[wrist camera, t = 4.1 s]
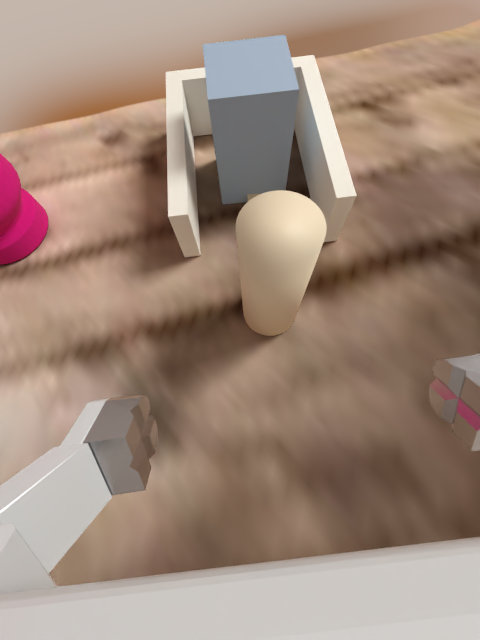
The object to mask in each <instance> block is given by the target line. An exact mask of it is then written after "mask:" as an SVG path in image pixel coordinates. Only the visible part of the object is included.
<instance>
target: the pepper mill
mask: <svg viewBox="0 0 480 640" xmlns="http://www.w3.org/2000/svg"><path fill="white" fill-rule="evenodd" d="M47 229H48V216H47V213H46V211H45V210H44V208H43V207H42V206H41V205H40V204H39V203H38V202H37V201H36V200H35V199H34V198H33V197H32V196H31V195H30V194H29V193H28V192H27V191H25V190H24V189H22V188H21V183H20V179H19V177H18V174H17V172H16V170H15V169H14V167H13V166H12V164H11V163H10V162H9V161H8V160H7V159H6V158H4V157H3V156H2V155H1V154H0V265H3V264H9V263H13V262H15V261H18V260H20V259H23V258H24V257H26V256H27V255H29V254H30V253H32V252H33V251H34V250H35V249H36V248H37V247H38V246H39V245H40V244H41V242H42V240H43V239H44V237H45V236H46V233H47Z"/></svg>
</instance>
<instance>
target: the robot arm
mask: <svg viewBox="0 0 480 640" xmlns="http://www.w3.org/2000/svg"><path fill="white" fill-rule="evenodd" d="M432 373H433V374H434V375H435V377H436V379H435V380H434V381H433V382H432V383H431V384H430V386H429V393H428V396H429V400H430V404H431V406H432V408H433V410H434V412H435V413H436V414H437V415H438V416H439V417H440V418H441V419H443V420H445V421H447V422H449V423H451V424H452V431H453V432H454V433H455V434H456V435H457V437H458V438H459V439H460V440H461V441H462V442H463V443H464V444H465V445H466V446H467V447H468V448H469V449H470V450H471V451H478V450H480V354H474V355H470V356H462V357H454V358H446V359H438V360H437V361H436V362H435V364H434V366H433V370H432ZM150 407H151V405H150V402H149V399H148V397H147V396H145V395H138V396H128V397H118V398H110V399H100V400H92V401H90V402H88V403H87V405H86V406H85V408H84V409H83V411H82V413H81V414H80V416H79V417H78V419H77V420H76V422H75V424H74V425H73V427H72V428H71V430H70V431H69V433H68V434H67V436H66V438H65V439H64V441H63V442H62V444H61V445H60V446H59V447H53V448H52V449H51V450H49V451H48V452H46V453H45V454H44V455H42V456H41V457H39V458H38V459H37V460H35V461H34V462H32V463H31V464H30V465H28V466H27V467H25V468H24V469H23V470H21V471H20V472H18V473H17V474H16V475H14V476H13V477H12V478H10V479H9V480H7V481H6V482H5V483H3V484H2V485H0V640H480V537H474V538H465V539H457V540H448V541H440V542H431V543H423V544H414V545H406V546H397V547H389V548H380V549H372V550H363V551H355V552H346V553H338V554H329V555H321V556H312V557H304V558H296V559H287V560H279V561H270V562H262V563H253V564H245V565H236V566H228V567H219V568H211V569H203V570H194V571H186V572H177V573H169V574H160V575H152V576H143V577H135V578H127V579H118V580H110V581H101V582H93V583H84V584H76V585H68V586H59V587H58V586H57V584H56V583H55V581H54V580H53V579H52V577H51V576H50V575H49V573H50V571H51V570H52V569H53V568H54V567H55V565H56V564H57V563H58V562H59V561H60V559H61V558H62V557H63V556H64V555H65V553H66V552H67V551H68V550H69V549H70V547H71V546H72V545H73V544H74V543H75V541H76V540H77V539H78V538H79V536H80V535H81V534H82V533H83V532H84V530H85V529H86V528H87V527H88V526H89V524H90V523H91V522H92V521H93V520H94V518H95V517H96V516H97V515H98V514H99V512H100V511H101V510H102V509H103V508H104V506H105V505H106V504H107V503H108V501H109V500H110V499H111V498H112V496H111V495H117V494H123V493H130V492H137V491H143V490H145V489H146V485H147V481H148V478H149V474H150V470H151V465H150V462H149V459H150V458H151V457H152V456H153V454H154V453H155V451H156V447H157V437H158V432H157V425H156V421H155V418H153V417H152V416H151V415H149V411H150Z"/></svg>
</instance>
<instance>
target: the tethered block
mask: <svg viewBox="0 0 480 640" xmlns="http://www.w3.org/2000/svg"><path fill="white" fill-rule="evenodd" d="M203 52H204V63H205V74H206V85H207V97H208V105H209V112H210V119H211V126H212V133H213V141H214V148H215V155H216V162H217V169H218V176H219V183H220V190H221V198H222V205H226V204H235V203H244V202H247V203H246V204H245V205H244V206H243V208H242V209H241V211H240V212H239V214H238V217H237V220H236V239H237V250H238V261H239V271H240V282H241V293H242V304H243V314H244V319H245V321H246V323H247V324H248V326H249V327H250V328H251V329H252V330H253V331H255V332H257V333H259V334H261V335H265V336H275V335H279V334H281V333H283V332H285V331H286V330H288V329H289V328H290V327H291V325H292V324H293V322H294V320H295V317H296V314H297V312H298V309H299V306H300V304H301V301H302V298H303V296H304V293H305V290H306V288H307V285H308V282H309V280H310V277H311V274H312V272H313V269H314V266H315V264H316V261H317V258H318V256H319V253H320V250H321V248H322V245H323V242H324V239H325V236H326V231H327V225H326V220H325V217H324V215H323V213H322V211H321V210H320V208H319V207H318V206H317V205H316V204H315V203H314V202H313V201H312V200H310V199H309V198H307V197H306V196H304V195H301V194H299V193H296V192H292V191H286V185H287V177H288V170H289V162H290V155H291V147H292V140H293V132H294V125H295V117H296V110H297V102H298V95H299V86H298V83H297V79H296V75H295V71H294V67H293V63H292V59H291V55H290V52H289V48H288V44H287V40H286V36H285V35H280V36H271V37H262V38H254V39H245V40H238V41H228V42H219V43H211V44H203Z"/></svg>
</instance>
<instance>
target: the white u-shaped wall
mask: <svg viewBox="0 0 480 640" xmlns="http://www.w3.org/2000/svg"><path fill="white" fill-rule="evenodd" d="M291 59H292V63H293V67H294V71H295V75H296V79H297V83H298V86H299V95H298V102H297V110H296V117H295V125H294V130H295V134H296V138H297V143H298V147H299V151H300V156H301V160H302V164H303V168H304V173H305V177H306V181H307V186H308V190H309V194H310V199H311V200H312V201H313V202H314V203H315V204H316V205H317V206H318V207H319V208H320V210H321V211H322V213H323V215H324V217H325V220H326V225H327V231H326V236H325V239H324V242H329V241H337V239H338V237H339V234H340V232H341V230H342V228H343V225H344V223H345V221H346V218H347V216H348V214H349V212H350V209H351V207H352V205H353V203H354V200H355V198H356V196H357V195H356V192H355V189H354V186H353V182H352V179H351V176H350V172H349V169H348V166H347V162H346V159H345V156H344V153H343V149H342V146H341V143H340V139H339V136H338V133H337V129H336V126H335V123H334V119H333V116H332V113H331V110H330V106H329V103H328V100H327V96H326V93H325V90H324V86H323V83H322V80H321V77H320V73H319V70H318V67H317V63H316V60H315V57H314V55H310V56H302V57H293V58H291ZM166 116H167V180H168V218H169V220H170V223H171V225H172V228H173V230H174V232H175V235H176V237H177V240H178V242H179V245H180V247H181V250H182V252H183V255H184V257H193V256H201V255H200V238H199V221H198V205H197V188H196V171H195V155H194V138H193V136H200V135H209V134H213V133H212V126H211V119H210V112H209V105H208V97H207V85H206V74H205V68H197V69H188V70H179V71H171V72H166Z"/></svg>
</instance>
